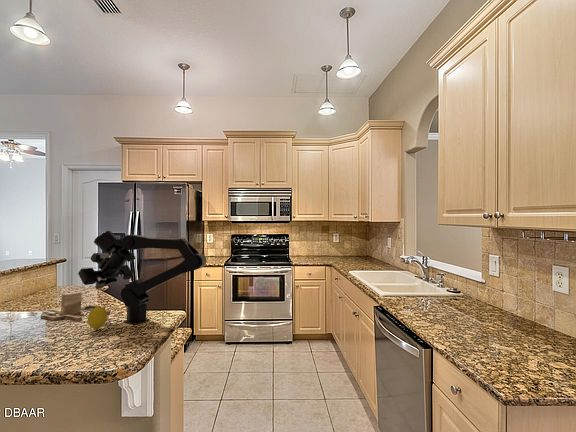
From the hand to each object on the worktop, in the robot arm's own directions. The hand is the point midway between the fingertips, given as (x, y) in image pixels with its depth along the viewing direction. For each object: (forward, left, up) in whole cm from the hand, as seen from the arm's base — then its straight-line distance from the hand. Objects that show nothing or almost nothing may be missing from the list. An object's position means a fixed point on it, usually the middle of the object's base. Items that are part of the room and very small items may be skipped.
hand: (96, 288), depth 119 cm
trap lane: (+11, 0, -11) cm, 15 cm away
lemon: (-16, +10, -11) cm, 22 cm away
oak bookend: (+18, 0, -11) cm, 21 cm away
